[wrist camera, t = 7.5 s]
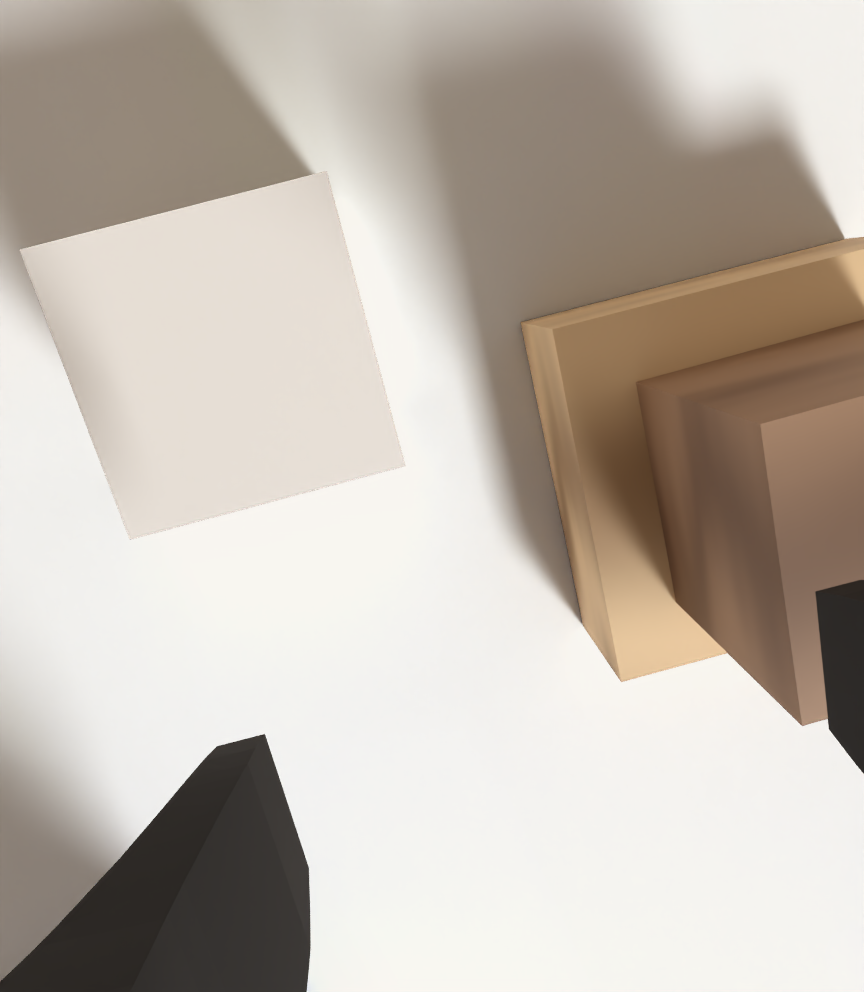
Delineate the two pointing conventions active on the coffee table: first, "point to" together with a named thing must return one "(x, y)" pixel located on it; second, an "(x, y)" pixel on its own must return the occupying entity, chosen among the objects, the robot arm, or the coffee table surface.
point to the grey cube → (219, 354)
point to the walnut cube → (763, 499)
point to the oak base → (621, 436)
